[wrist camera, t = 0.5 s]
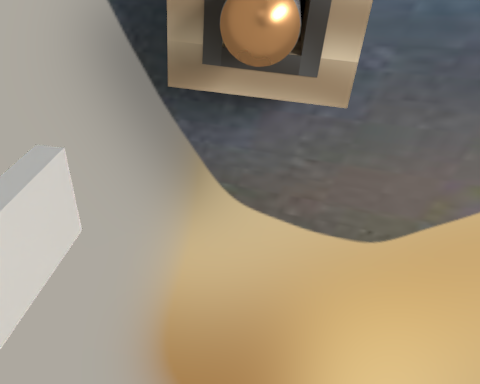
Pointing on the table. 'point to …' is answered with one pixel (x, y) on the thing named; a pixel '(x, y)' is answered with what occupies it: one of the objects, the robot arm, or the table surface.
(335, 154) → the table surface
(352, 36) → the block
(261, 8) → the peg
